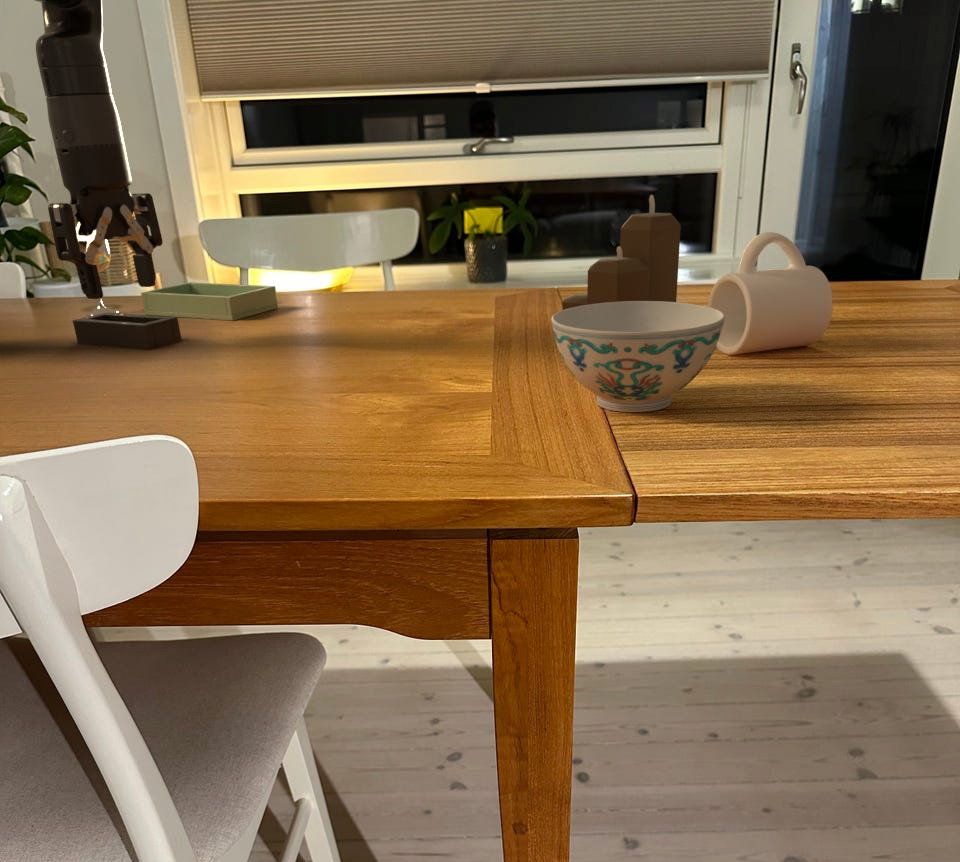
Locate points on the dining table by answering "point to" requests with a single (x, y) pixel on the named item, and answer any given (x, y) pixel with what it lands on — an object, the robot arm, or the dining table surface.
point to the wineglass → (102, 262)
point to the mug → (771, 301)
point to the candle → (637, 263)
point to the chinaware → (636, 349)
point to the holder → (210, 301)
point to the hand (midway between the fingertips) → (121, 292)
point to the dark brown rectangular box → (127, 330)
